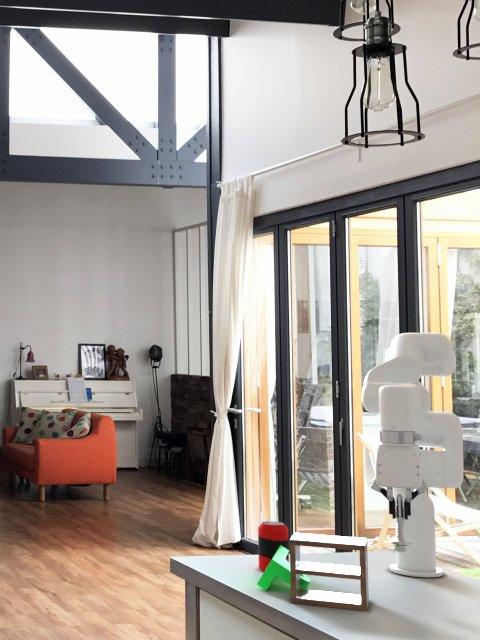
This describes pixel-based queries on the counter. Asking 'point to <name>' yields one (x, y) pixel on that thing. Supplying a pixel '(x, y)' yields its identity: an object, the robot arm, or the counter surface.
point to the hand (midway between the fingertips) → (400, 517)
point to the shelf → (328, 572)
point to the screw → (400, 528)
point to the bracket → (280, 570)
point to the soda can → (271, 541)
